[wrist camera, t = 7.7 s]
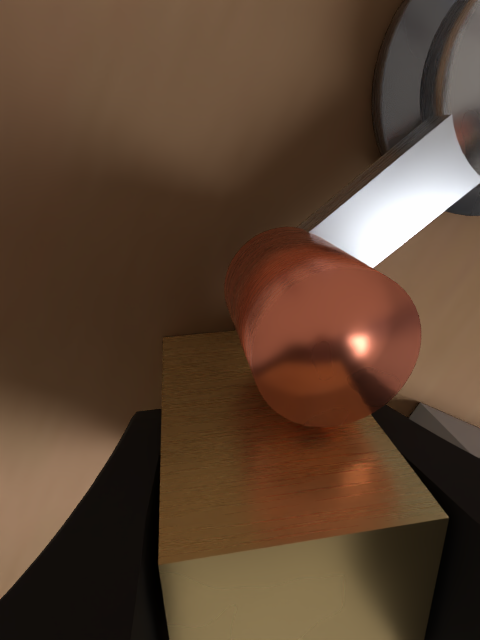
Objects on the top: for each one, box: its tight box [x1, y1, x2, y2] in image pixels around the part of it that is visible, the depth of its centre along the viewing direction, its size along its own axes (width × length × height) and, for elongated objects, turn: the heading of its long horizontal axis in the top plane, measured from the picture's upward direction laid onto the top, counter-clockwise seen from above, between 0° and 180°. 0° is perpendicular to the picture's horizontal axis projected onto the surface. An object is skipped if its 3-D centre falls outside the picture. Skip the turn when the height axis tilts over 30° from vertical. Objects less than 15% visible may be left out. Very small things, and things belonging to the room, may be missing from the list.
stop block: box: [158, 330, 449, 640], centre depth 8 cm, size 3×3×6 cm
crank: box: [224, 0, 480, 427], centre depth 7 cm, size 9×4×4 cm, turn 129°
